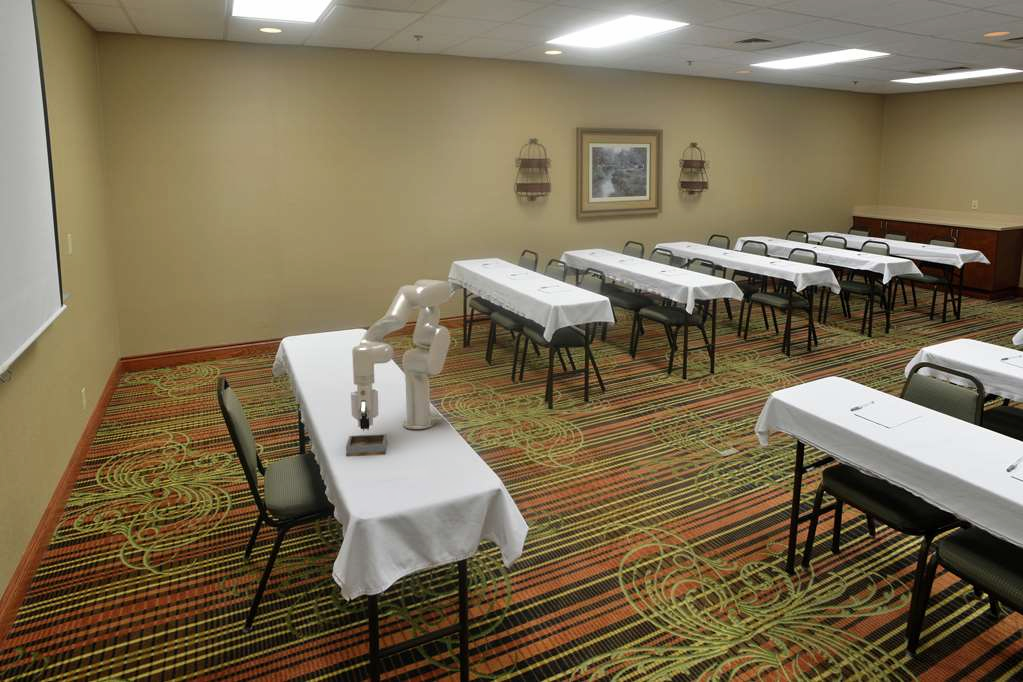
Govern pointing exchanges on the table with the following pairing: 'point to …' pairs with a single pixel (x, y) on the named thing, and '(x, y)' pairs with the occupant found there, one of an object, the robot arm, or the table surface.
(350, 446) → the tray
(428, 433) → the table surface
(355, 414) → the charger
